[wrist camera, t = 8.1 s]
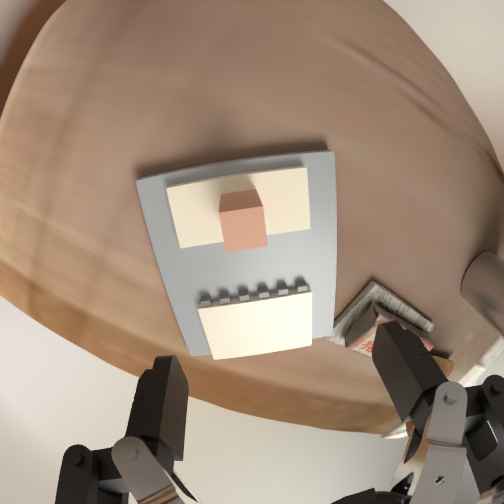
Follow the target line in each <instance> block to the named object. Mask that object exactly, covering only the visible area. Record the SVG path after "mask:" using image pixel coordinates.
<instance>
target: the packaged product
mask: <svg viewBox="0 0 504 504" xmlns="http://www.w3.org/2000/svg"><path fill="white" fill-rule="evenodd" d="M392 320H397V321H398V322H399V324H400V325H401V326H402V328H403V329H404V330H406V329H409V330H411V331H412V332H414V333H415V334H416V335H418V336H419V338H420V339H421V341H422V342H423V343H424V346H426V348H427V349H428V351H430V350H431V349H432V348H433V347H434V344H433V341H432V340H431V337H430V335H429V334H428V333H429V332H430V331H431V330H433V328H434V326H435V325H434V324H433V323H432V322H430V321H429V320H427V319H426V318H424V317H423V316H422V315H421V314H420V313H419V312H417V311H416V310H415V309H413V308H412V307H411V306H410V305H408V304H407V303H406V302H405V301H403V300H402V299H400V298H399V297H398V296H396V295H395V294H393V293H392V292H390V291H389V290H387V289H386V288H384V287H383V286H381V285H380V284H378V283H376V282H374V281H371V282H370V283H369V284H368V285H367V286H366V287H365V289H364V290H363V291H362V292H361V293H360V294H359V295H358V297H357V298H356V299H355V300H354V301H353V302H352V303H351V304H350V305H349V306H348V307H347V308H346V310H345V311H344V312H343V313H342V314H341V315H340V316H339V317H338V318H337V319H336V320H335V321H334V322H333V334H332V335H329V336H325V337H324V339H328V340H330V341H332V342H334V343H336V344H339V345H343V346H345V347H346V348H347V349H349V350H352V351H354V352H357V353H360V354H362V355H364V356H367V357H370V358H372V347H373V343H374V338H375V334H376V329H377V326H378V324H381V323H385V322H388V321H392Z"/></svg>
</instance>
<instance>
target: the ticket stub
mask: <svg viewBox="0 0 504 504" xmlns="http://www.w3.org/2000/svg"><path fill="white" fill-rule="evenodd" d="M166 190H167V195H168V199H169V204H170V208H171V212H172V217H173V221H174V225H175V229H176V233H177V237H178V241H179V245H180V248H187V247H193V246H199V245H206V244H212V243H219V242H224V244H225V249H226V252H232V251H239V250H245V249H252V248H259V247H266V246H268V244H267V235H272V234H279V233H286V232H293V231H300V230H307V229H311V227H310V208H309V191H308V177H307V167H305V166H296V167H286V168H277V169H269V170H261V171H253V172H246V173H239V174H232V175H226V176H220V177H214V178H208V179H202V180H196V181H191V182H185V183H180V184H175V185H170V186H168V187H167V188H166Z"/></svg>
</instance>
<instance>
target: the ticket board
mask: <svg viewBox="0 0 504 504" xmlns="http://www.w3.org/2000/svg"><path fill="white" fill-rule="evenodd" d="M296 166H305V167H307V177H308V191H309V208H310V227H311V229H307V230H300V231H293V232H286V233H279V234H272V235H267V244H268V246H266V247H259V248H252V249H245V250H239V251H232V252H226V249H225V244H224V242H219V243H212V244H206V245H199V246H193V247H187V248H180V245H179V241H178V237H177V233H176V229H175V225H174V221H173V217H172V212H171V208H170V204H169V199H168V195H167V190H166V188H167V187H168V186H170V185H175V184H180V183H185V182H191V181H196V180H202V179H208V178H214V177H220V176H226V175H232V174H239V173H246V172H253V171H261V170H269V169H277V168H286V167H296ZM136 185H137V190H138V194H139V198H140V202H141V206H142V210H143V214H144V218H145V221H146V225H147V229H148V232H149V236H150V239H151V243H152V246H153V250H154V253H155V256H156V260H157V263H158V266H159V269H160V272H161V276H162V279H163V282H164V285H165V288H166V291H167V294H168V296H169V299H170V302H171V305H172V308H173V311H174V313H175V316H176V319H177V322H178V324H179V327H180V330H181V332H182V335H183V337H184V340H185V342H186V345H187V348H188V350H189V352H190V355H191V356H199V355H209V354H212V356H213V358H214V360H217V359H226V358H234V357H242V356H250V355H257V354H264V353H270V352H276V351H282V350H288V349H294V348H299V347H304V346H309V345H312V339H315V338H320V337H325V336H329V335H332V334H333V321H334V307H335V288H336V258H337V205H336V175H335V157H334V151H331V150H315V151H303V152H292V153H282V154H273V155H264V156H256V157H248V158H241V159H234V160H228V161H221V162H215V163H209V164H203V165H198V166H192V167H187V168H182V169H177V170H172V171H167V172H163V173H158V174H154V175H149V176H145V177H141V178H139V179H138V180H136Z"/></svg>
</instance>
